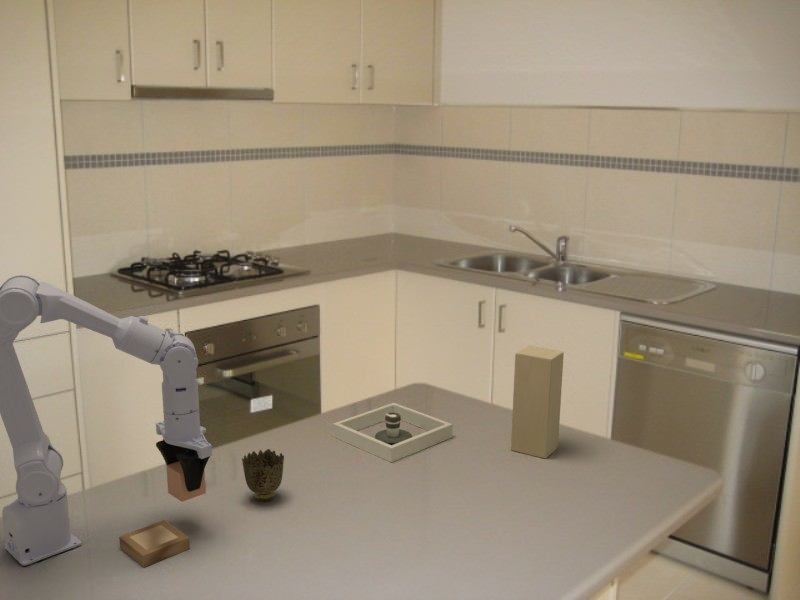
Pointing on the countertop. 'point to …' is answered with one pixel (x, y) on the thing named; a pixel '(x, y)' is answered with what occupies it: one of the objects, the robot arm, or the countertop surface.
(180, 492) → the block
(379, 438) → the coffee cup
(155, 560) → the base slab
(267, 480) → the cup
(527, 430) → the tan tall block
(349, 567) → the countertop surface
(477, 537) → the countertop surface
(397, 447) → the cup tray
